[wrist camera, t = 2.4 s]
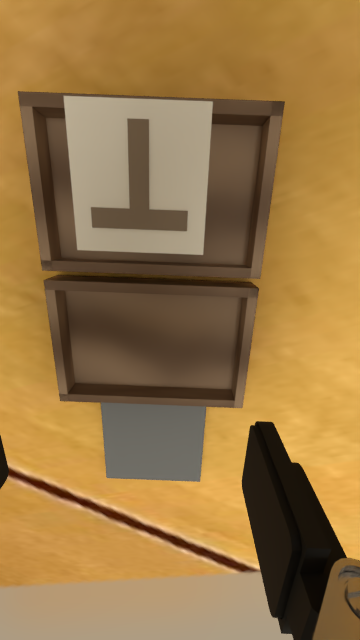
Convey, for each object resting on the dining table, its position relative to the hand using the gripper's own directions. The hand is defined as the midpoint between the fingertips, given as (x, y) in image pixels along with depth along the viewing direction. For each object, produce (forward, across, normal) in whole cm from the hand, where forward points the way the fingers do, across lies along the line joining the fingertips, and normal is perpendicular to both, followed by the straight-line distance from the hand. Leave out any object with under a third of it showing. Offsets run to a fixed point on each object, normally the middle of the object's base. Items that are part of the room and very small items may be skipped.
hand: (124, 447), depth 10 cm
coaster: (+10, 0, +10) cm, 14 cm away
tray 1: (+10, 0, -9) cm, 14 cm away
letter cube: (+10, 0, -9) cm, 14 cm away
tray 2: (+10, 0, 0) cm, 10 cm away
